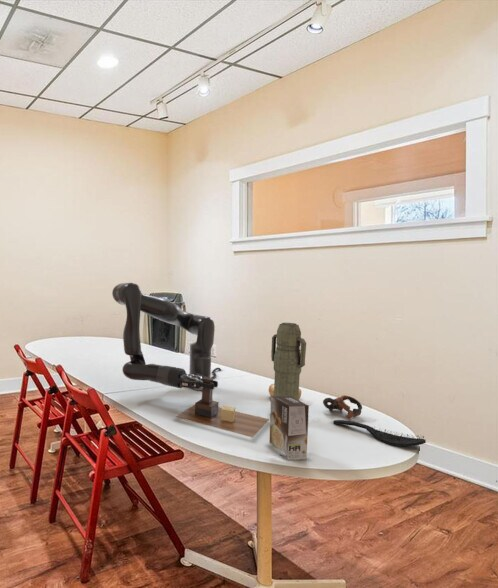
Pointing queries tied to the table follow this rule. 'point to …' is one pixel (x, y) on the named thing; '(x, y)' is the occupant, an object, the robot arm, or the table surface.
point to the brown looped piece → (343, 405)
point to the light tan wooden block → (228, 413)
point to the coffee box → (289, 426)
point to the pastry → (271, 390)
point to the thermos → (288, 359)
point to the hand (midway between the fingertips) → (215, 385)
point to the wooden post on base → (206, 402)
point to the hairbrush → (386, 435)
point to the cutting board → (240, 425)
